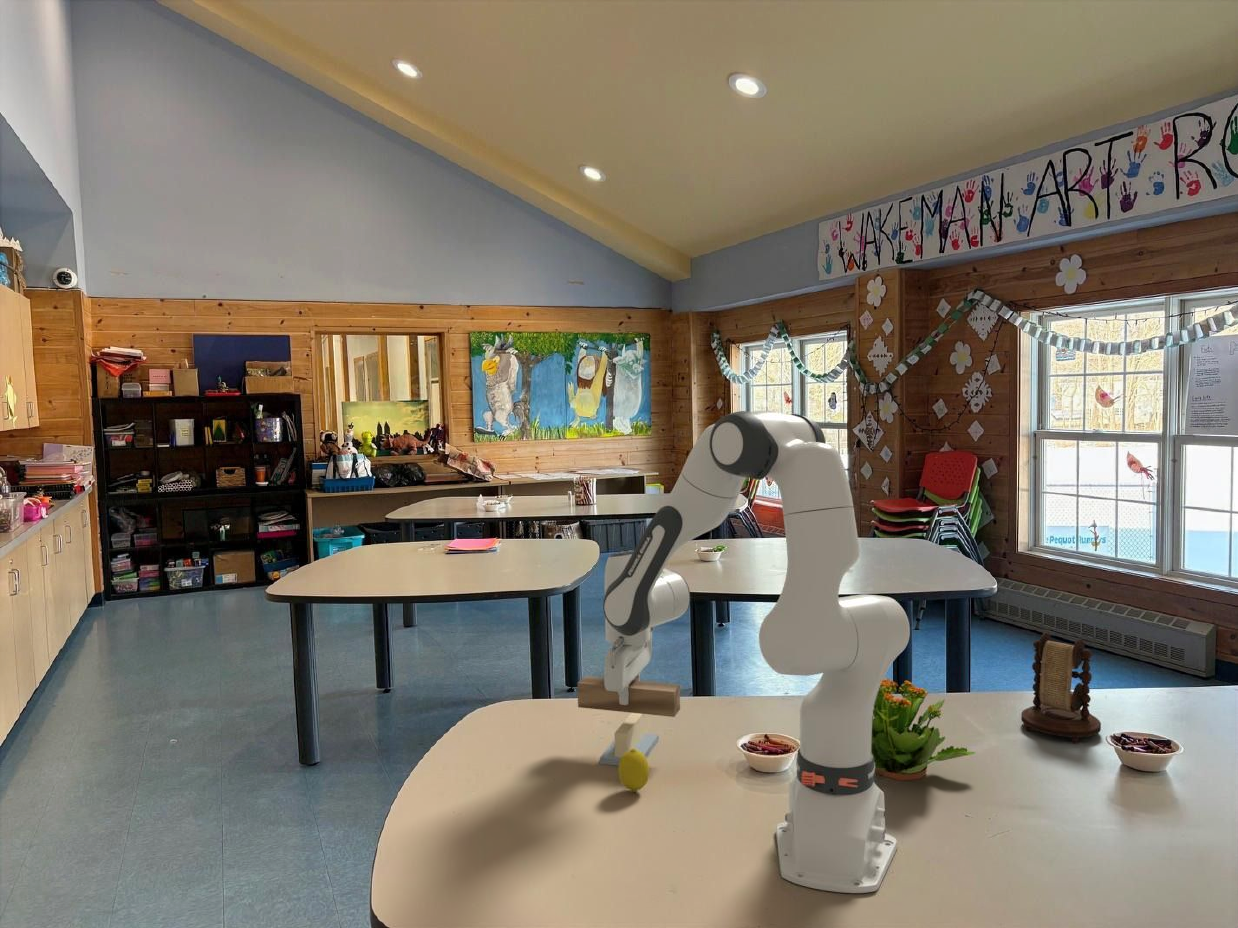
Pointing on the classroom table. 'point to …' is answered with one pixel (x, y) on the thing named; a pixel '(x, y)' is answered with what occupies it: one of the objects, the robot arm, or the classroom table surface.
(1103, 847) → the classroom table surface
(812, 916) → the classroom table surface
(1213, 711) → the classroom table surface
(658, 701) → the walnut bar
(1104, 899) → the classroom table surface
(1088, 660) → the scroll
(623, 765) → the lemon
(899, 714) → the potted flower
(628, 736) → the fulcrum
